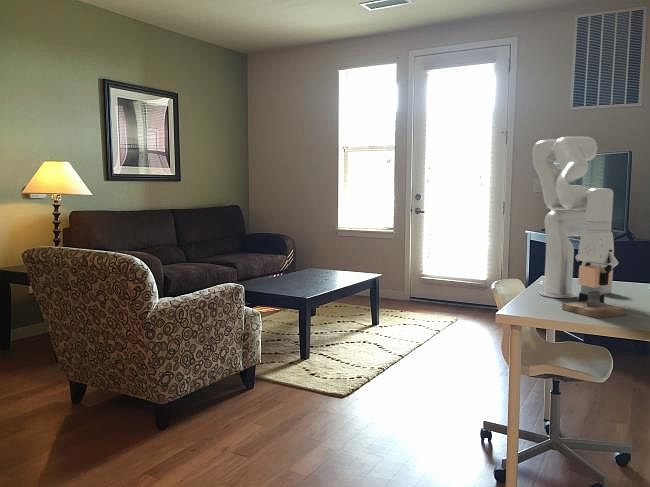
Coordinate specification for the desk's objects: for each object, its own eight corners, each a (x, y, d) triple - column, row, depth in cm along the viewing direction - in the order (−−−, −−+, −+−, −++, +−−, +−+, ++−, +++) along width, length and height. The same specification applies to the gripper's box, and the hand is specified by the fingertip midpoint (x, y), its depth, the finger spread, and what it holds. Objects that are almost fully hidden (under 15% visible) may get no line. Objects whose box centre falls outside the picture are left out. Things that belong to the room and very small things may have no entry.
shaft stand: (562, 309, 183) (563, 289, 182) (590, 306, 188) (591, 287, 187) (595, 318, 171) (596, 296, 170) (625, 314, 176) (626, 293, 175)
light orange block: (578, 284, 180) (579, 264, 179) (594, 282, 183) (596, 263, 182) (593, 287, 174) (595, 266, 174) (610, 286, 177) (612, 265, 177)
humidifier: (589, 305, 189) (594, 232, 187) (573, 300, 197) (577, 230, 194) (609, 304, 191) (614, 232, 189) (592, 299, 199) (596, 230, 197)
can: (592, 290, 218) (594, 259, 217) (613, 292, 213) (615, 261, 212) (587, 292, 212) (589, 261, 211) (608, 295, 207) (610, 263, 206)
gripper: (567, 225, 183) (564, 279, 185) (613, 229, 167) (609, 288, 169) (584, 225, 186) (580, 278, 188) (630, 228, 170) (626, 287, 172)
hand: (594, 282), depth 178 cm, fingers closed on light orange block, 6 cm apart
